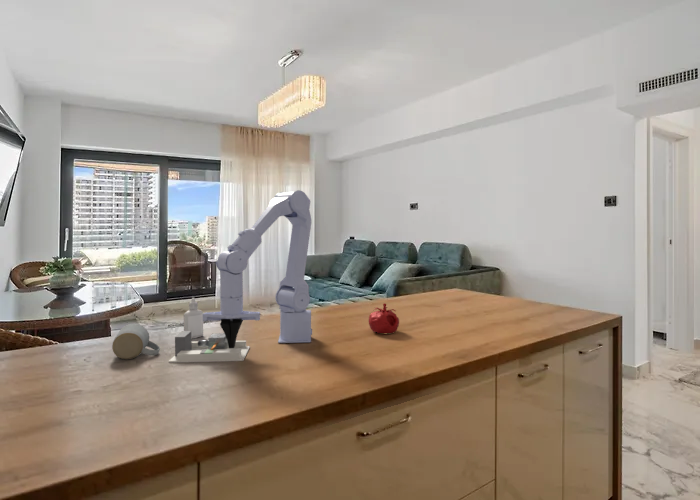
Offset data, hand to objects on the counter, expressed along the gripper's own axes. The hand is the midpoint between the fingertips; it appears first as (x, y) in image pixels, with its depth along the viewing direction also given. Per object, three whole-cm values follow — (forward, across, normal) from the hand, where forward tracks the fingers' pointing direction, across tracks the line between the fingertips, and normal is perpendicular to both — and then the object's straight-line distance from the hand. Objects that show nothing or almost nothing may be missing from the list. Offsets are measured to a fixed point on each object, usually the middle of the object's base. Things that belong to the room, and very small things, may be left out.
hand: (231, 347), depth 108 cm
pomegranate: (+2, +44, +19) cm, 48 cm away
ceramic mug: (+2, -24, 0) cm, 24 cm away
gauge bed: (+2, -5, -1) cm, 5 cm away
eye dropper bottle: (+2, -14, +17) cm, 22 cm away
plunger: (+1, -5, -2) cm, 6 cm away
